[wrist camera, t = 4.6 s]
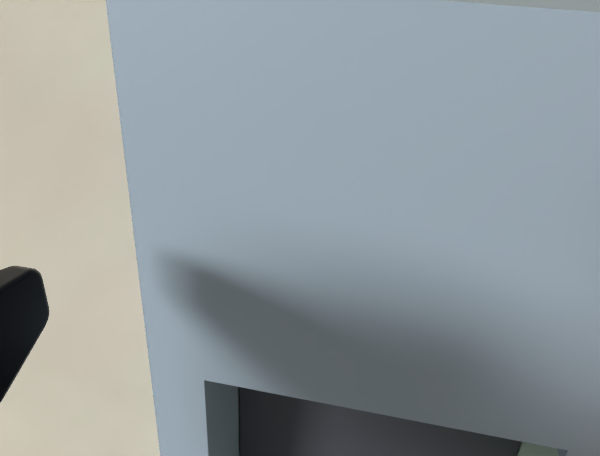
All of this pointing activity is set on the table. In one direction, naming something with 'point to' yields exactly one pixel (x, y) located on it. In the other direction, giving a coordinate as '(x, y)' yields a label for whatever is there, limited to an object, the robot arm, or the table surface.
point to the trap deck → (366, 223)
